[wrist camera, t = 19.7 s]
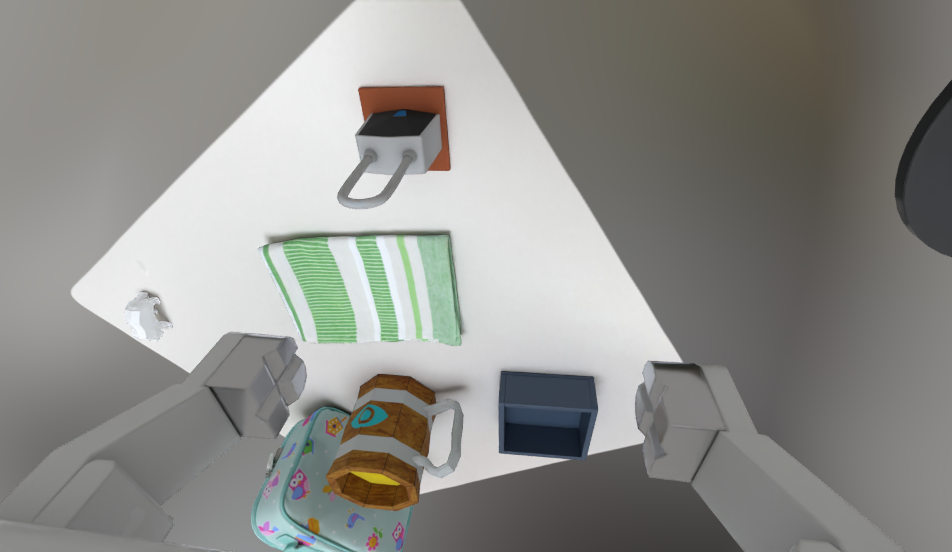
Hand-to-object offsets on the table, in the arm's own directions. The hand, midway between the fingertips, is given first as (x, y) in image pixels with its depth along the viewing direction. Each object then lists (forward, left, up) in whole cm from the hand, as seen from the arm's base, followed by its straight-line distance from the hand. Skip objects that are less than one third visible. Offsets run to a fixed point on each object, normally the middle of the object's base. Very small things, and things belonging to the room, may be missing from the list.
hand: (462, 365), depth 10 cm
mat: (+10, +6, -34) cm, 36 cm away
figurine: (+52, +33, -34) cm, 71 cm away
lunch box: (+28, +64, -34) cm, 78 cm away
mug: (+15, +50, -34) cm, 63 cm away
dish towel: (+18, +27, -34) cm, 47 cm away
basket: (-6, +49, -34) cm, 60 cm away
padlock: (+10, +6, -34) cm, 36 cm away
